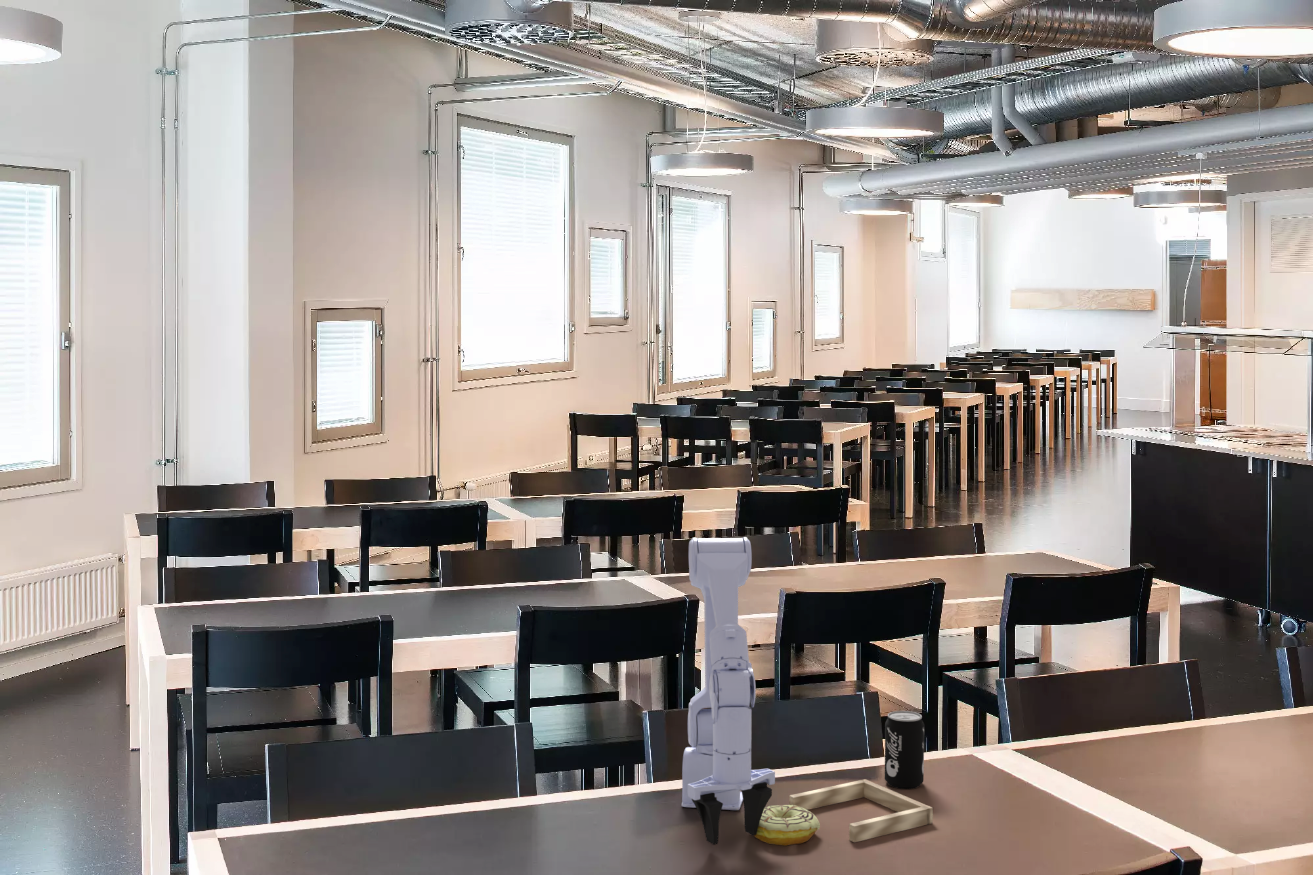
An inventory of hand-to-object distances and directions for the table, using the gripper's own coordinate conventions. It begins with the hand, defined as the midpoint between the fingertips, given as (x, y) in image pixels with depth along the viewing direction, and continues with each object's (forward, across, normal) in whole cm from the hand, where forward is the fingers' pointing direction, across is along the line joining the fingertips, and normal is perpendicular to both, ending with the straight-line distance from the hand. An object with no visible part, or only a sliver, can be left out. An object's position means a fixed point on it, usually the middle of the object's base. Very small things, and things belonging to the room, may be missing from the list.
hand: (731, 837), depth 205 cm
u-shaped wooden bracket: (+1, +24, 0) cm, 25 cm away
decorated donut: (+2, +10, 0) cm, 10 cm away
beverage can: (+2, +42, +9) cm, 43 cm away
